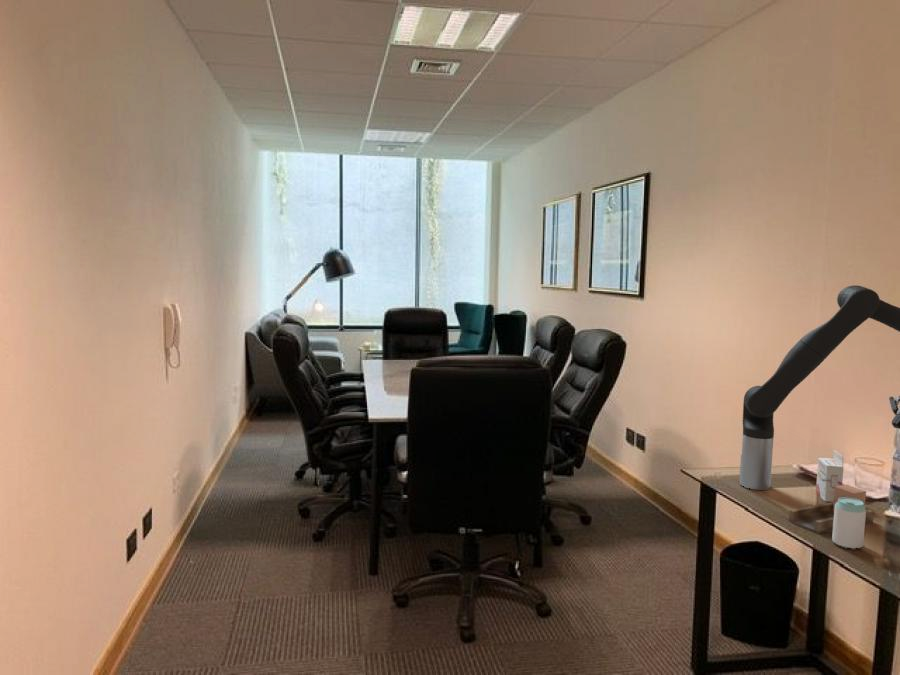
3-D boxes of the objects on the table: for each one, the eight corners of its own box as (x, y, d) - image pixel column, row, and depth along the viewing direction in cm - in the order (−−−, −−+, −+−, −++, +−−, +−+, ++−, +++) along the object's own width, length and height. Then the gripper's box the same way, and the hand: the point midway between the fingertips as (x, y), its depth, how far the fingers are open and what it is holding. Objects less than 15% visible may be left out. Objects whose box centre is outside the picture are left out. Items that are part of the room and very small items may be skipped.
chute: (842, 510, 197) (843, 500, 197) (872, 522, 189) (873, 511, 188) (788, 521, 189) (789, 510, 189) (818, 533, 180) (819, 522, 180)
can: (869, 549, 171) (873, 505, 169) (845, 551, 170) (848, 506, 168) (849, 538, 178) (852, 495, 176) (825, 539, 177) (829, 496, 175)
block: (844, 510, 195) (846, 484, 194) (863, 517, 189) (866, 491, 189) (832, 512, 193) (834, 486, 192) (851, 520, 188) (854, 493, 187)
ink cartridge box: (814, 492, 213) (818, 448, 211) (831, 493, 212) (835, 449, 210) (824, 501, 204) (827, 456, 203) (841, 503, 203) (845, 457, 202)
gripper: (899, 371, 203) (868, 413, 200) (945, 378, 191) (913, 423, 187) (909, 387, 205) (879, 429, 202) (955, 395, 193) (923, 440, 190)
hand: (895, 426), depth 195 cm, fingers closed
